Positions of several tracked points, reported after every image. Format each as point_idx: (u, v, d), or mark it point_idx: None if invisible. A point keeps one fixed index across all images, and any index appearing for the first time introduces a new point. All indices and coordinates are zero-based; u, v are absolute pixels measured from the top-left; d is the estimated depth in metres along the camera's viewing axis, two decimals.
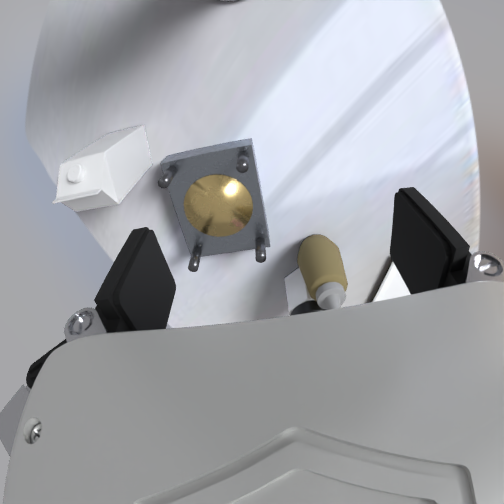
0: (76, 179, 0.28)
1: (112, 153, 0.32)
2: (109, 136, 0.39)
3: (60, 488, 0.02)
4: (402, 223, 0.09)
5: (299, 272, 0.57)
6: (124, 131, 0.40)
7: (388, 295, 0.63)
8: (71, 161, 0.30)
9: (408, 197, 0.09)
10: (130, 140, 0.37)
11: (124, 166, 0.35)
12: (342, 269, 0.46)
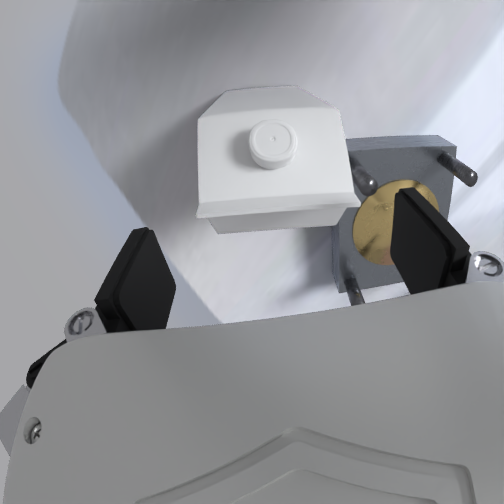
0: (286, 158, 0.12)
1: None
2: (250, 91, 0.22)
3: (60, 488, 0.02)
4: (402, 223, 0.09)
5: None
6: (274, 88, 0.23)
7: None
8: (237, 114, 0.13)
9: (408, 197, 0.09)
10: None
11: None
12: None
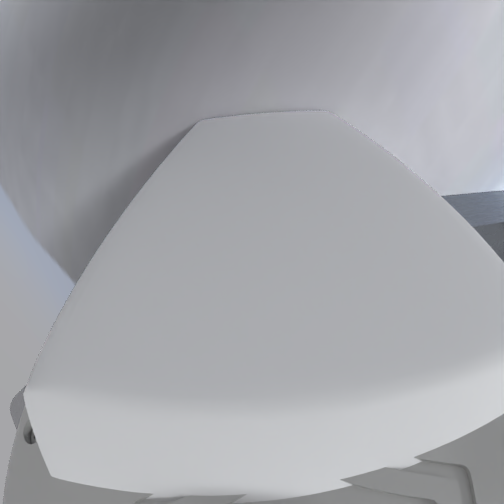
0: None
1: None
2: (242, 130, 0.11)
3: (60, 488, 0.02)
4: None
5: None
6: (290, 120, 0.12)
7: None
8: (159, 421, 0.02)
9: None
10: None
11: None
12: None
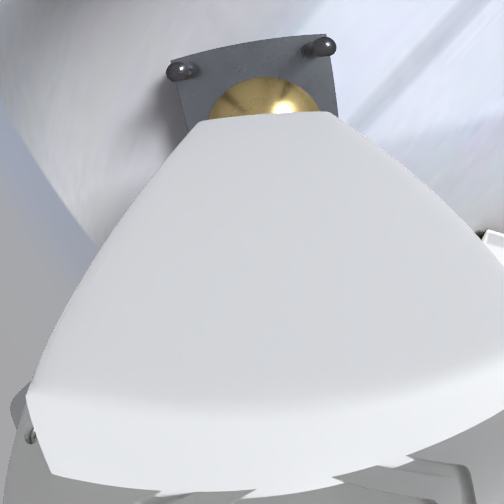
0: None
1: None
2: (242, 131, 0.11)
3: (60, 488, 0.02)
4: None
5: None
6: (290, 121, 0.12)
7: None
8: (160, 423, 0.02)
9: None
10: None
11: None
12: None
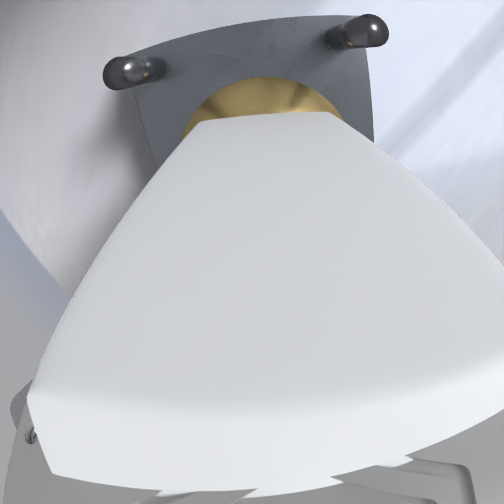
0: None
1: None
2: (242, 131, 0.11)
3: (60, 488, 0.02)
4: None
5: None
6: (290, 121, 0.12)
7: None
8: (162, 424, 0.02)
9: None
10: None
11: None
12: None
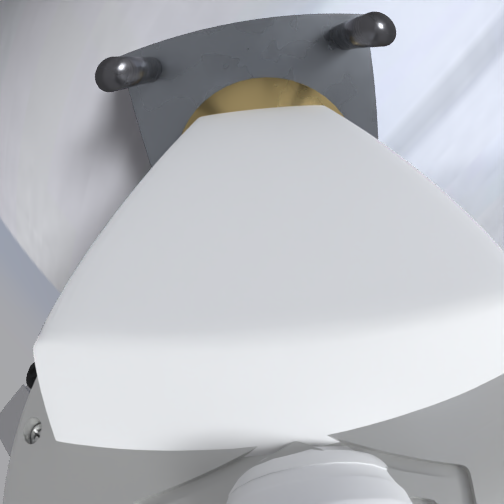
0: None
1: None
2: (239, 123, 0.12)
3: (60, 488, 0.02)
4: None
5: None
6: (286, 114, 0.12)
7: None
8: (157, 357, 0.03)
9: None
10: None
11: None
12: None
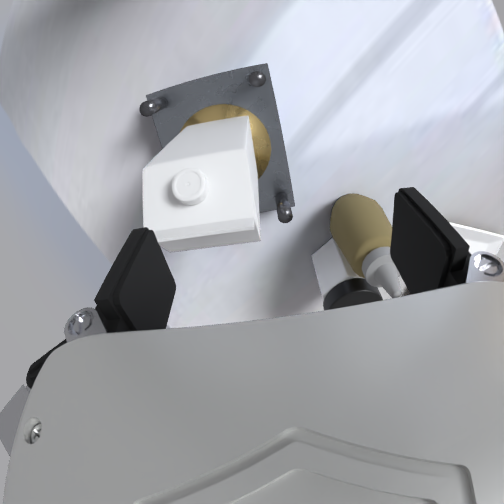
0: (196, 198, 0.17)
1: (248, 153, 0.20)
2: (202, 128, 0.27)
3: (60, 488, 0.02)
4: (402, 223, 0.09)
5: (331, 245, 0.43)
6: (224, 122, 0.28)
7: None
8: (169, 163, 0.18)
9: (408, 197, 0.09)
10: (249, 135, 0.25)
11: (253, 176, 0.23)
12: None
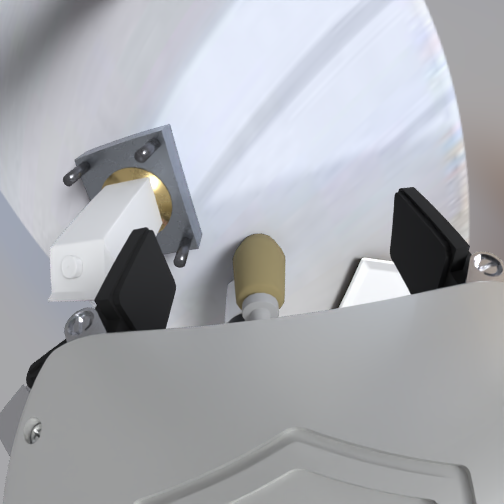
0: (72, 277, 0.23)
1: (114, 235, 0.26)
2: (108, 195, 0.33)
3: (60, 488, 0.02)
4: (402, 223, 0.09)
5: None
6: (125, 188, 0.34)
7: (357, 304, 0.56)
8: (63, 246, 0.24)
9: (408, 197, 0.09)
10: (134, 206, 0.31)
11: None
12: (278, 277, 0.39)
